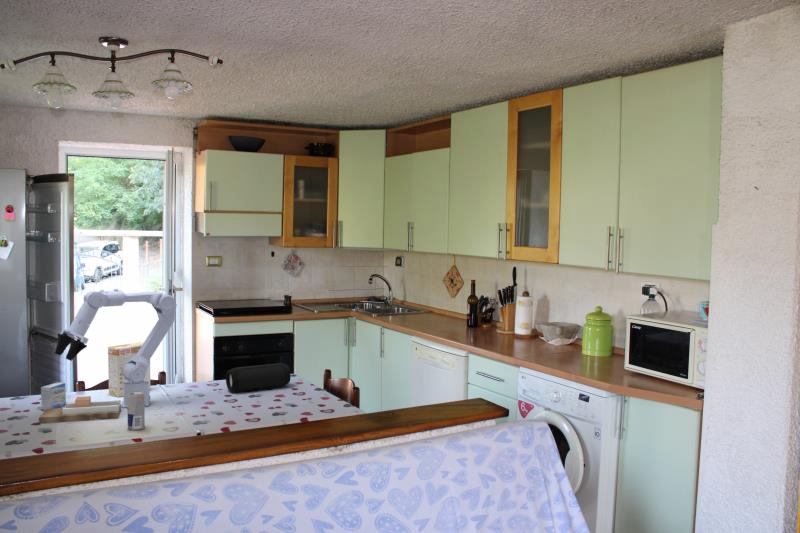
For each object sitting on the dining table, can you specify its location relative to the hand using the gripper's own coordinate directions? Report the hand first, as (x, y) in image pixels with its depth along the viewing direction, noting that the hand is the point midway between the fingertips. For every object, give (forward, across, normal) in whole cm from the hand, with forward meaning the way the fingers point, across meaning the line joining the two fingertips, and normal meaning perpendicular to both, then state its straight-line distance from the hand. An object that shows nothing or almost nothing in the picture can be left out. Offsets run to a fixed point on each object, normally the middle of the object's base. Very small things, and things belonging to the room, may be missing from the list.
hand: (63, 357), depth 244 cm
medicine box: (+19, -10, +13) cm, 25 cm away
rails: (+13, +10, +14) cm, 21 cm away
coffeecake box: (+4, -10, +40) cm, 42 cm away
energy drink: (+11, +36, +14) cm, 40 cm away
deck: (+16, +8, +12) cm, 22 cm away
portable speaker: (-17, +24, +72) cm, 78 cm away
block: (+14, +8, +12) cm, 20 cm away
